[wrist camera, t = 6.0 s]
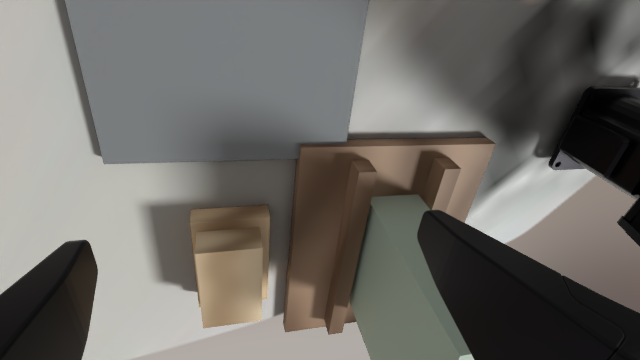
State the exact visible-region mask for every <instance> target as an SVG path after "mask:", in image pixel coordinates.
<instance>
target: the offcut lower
mask: <svg viewBox="0 0 640 360" xmlns="http://www.w3.org/2000/svg"><path fill="white" fill-rule="evenodd" d="M257 227H260V233H261V239H262V246H263V265H262V300H264V299H267V289H268V263H269V237H270V214H269V209H268V205H258V206H242V207H225V208H209V209H192V210H191V217H190V228H191V237H192V246H193V255H194V264H195V273H196V282H197V292H198V301H199V307H201V304H200V295H199V286H198V277H197V269H196V260H195V244H196V232H204V231H217V230H230V229H243V228H257Z"/></svg>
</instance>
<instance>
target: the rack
mask: <svg viewBox="0 0 640 360" xmlns="http://www.w3.org/2000/svg"><path fill="white" fill-rule="evenodd" d="M495 145H496V144H495V143H494V142H493V141H491V140H490V139H488V138H427V139H354V140H347V141H346V144H310V145H300V150H299V159H297V160H296V172H295V184H294V197H293V209H292V221H291V233H290V246H289V258H288V270H287V283H286V295H285V307H284V321H283V323H284V329H285V332H290V331H297V330H303V329H310V328H317V327H323V326H326V327H327V331H328V334H335V333H342V330H343V326H344V323H351V322H357V321H356V318H355V316H354V313H353V310H352V308H351V305H350V302H349V299H350V294H351V290H352V285H353V280H354V276H355V271H356V267H357V262H358V258H359V253H360V249H361V244H362V239H363V235H364V230H365V226H366V221H367V217H368V212H369V208H370V203H371V198H372V197H379V196H397V195H414V194H418V195H419V196H420V197H421V198H422V200H423V201H424V202H425V204H426V205H427V206H428V207H429V209H430V210H441V211H443V212H445V213H447V214H449V215H450V216H452V217H454V218H456V219H458V220H460V221H462V222H465V220H466V217H467V215H468V212H469V210H470V207H471V205H472V202H473V200H474V197H475V195H476V192H477V190H478V187H479V185H480V183H481V180H482V178H483V175H484V173H485V170H486V168H487V165H488V163H489V160H490V158H491V155H492V153H493V150H494V148H495Z"/></svg>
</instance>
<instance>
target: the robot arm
mask: <svg viewBox="0 0 640 360" xmlns="http://www.w3.org/2000/svg"><path fill="white" fill-rule="evenodd" d="M549 167H551V168H552V169H553V170H566V169H587V170H589V171H591V172H592V173H594V174H595V175H597V176H599V177H600V178H602V179H603V180H605V181H607V182H608V183H610V184H611V185H613V186H615V187H616V188H618V189H619V190H621V191H623V192H624V193H626V194H627V195H629V196H631V197H632V198H634V199H635V200H636V201H635V203H634V204H633V205H632V206H631V208H630V209H629V210H628V211H627V213H626V214H625V215H624V216H622V217H621V218H620V219H619V220H618V222H617V223H618V224H619V225H620V226H621V227H622V228H623V229H624V230H625V231H626V233H627V234H628V235H629V236H630V237H631V238H632V239H633V240H634V241H635V242H636V243H637V244H638V245H639V246H640V88H631V87H598V86H592V87H589V88H588V89H586V90H585V92H584V93H583V95H582V97H581V99H580V101H579V103H578V105H577V107H576V109H575V111H574V113H573V115H572V117H571V119H570V121H569V123H568V125H567V127H566V129H565V131H564V133H563V135H562V137H561V139H560V141H559V143H558V145H557V147H556V149H555V151H554V153H553V155H552V157H551V159H550V161H549ZM417 239H418V242H419V245H420V247H421V250H422V253H423V255H424V258H425V260H426V263H427V265H428V268H429V270H430V273H431V275H432V278H433V280H434V283H435V285H436V287H437V289H438V291H439V293H440V295H441V297H442V299H443V301H444V303H445V305H446V307H447V309H448V310H449V312H450V314H451V316H452V318H453V320H454V322H455V324H456V326H457V328H458V330H459V332H460V333H461V335H462V337H463V339H464V341H465V343H466V345H467V347H468V349H469V351H470V353H471V354H472V356H473V358H474V360H640V313H638V312H636V311H634V310H632V309H629V308H627V307H625V306H623V305H621V304H619V303H617V302H615V301H613V300H610V299H608V298H606V297H604V296H602V295H600V294H598V293H596V292H594V291H592V290H590V289H588V288H587V287H585V286H583V285H581V284H579V283H577V282H575V281H573V280H571V279H569V278H567V277H566V276H561V274H560V273H558V272H556V271H554V270H552V269H550V268H548V267H547V266H545V265H543V264H541V263H539V262H537V261H535V260H533V259H532V258H529V257H528V256H526V255H524V254H522V253H520V252H518V251H516V250H515V249H513V248H511V247H509V246H507V245H505V244H503V243H501V242H499V241H498V240H496V239H494V238H492V237H490V236H488V235H486V234H484V233H482V232H481V231H479V230H477V229H475V228H473V227H471V226H469V225H467V224H465V223H464V222H462V221H460V220H458V219H456V218H454V217H452V216H450V215H449V214H447V213H445V212H443V211H441V210H427V211H425V212H424V213H423V216H422V219H421V222H420V225H419V229H418V232H417ZM97 275H98V269H97V264H96V261H95V258H94V255H93V252H92V249H91V245H90V243H89V242H88V241H86V240H77V241H68V242H65V243H64V244H63V245H61V246H60V247H59V248H58V249H56V250H55V251H54V252H53V253H51V254H50V255H49V256H48V257H46V258H45V259H44V260H43V261H41V262H40V263H39V264H38V265H36V266H35V267H34V268H33V269H32V270H30V271H29V272H28V273H27V274H25V275H24V276H23V277H22V278H20V279H19V280H18V281H17V282H15V283H14V284H13V285H12V286H10V287H9V288H8V289H7V290H6V291H4V292H3V293H2V294H1V295H0V360H81V359H82V356H83V352H84V349H85V345H86V341H87V337H88V332H89V326H90V320H91V313H92V307H93V301H94V295H95V288H96V282H97Z"/></svg>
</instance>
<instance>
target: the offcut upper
mask: <svg viewBox="0 0 640 360" xmlns="http://www.w3.org/2000/svg"><path fill="white" fill-rule="evenodd" d="M195 260H196V269H197V277H198V286H199V295H200V304H201V312H202V321H203V328H209V327H216V326H224V325H231V324H238V323H246V322H253V321H260V320H261V317H262V265H263V246H262V239H261V233H260V227H257V228H243V229H230V230H217V231H204V232H196V244H195Z"/></svg>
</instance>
